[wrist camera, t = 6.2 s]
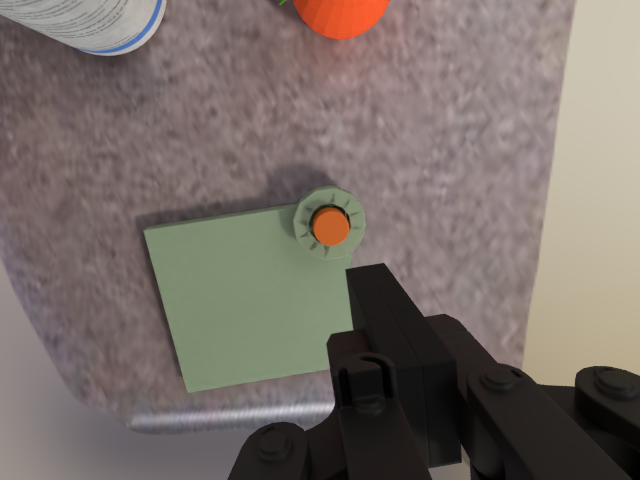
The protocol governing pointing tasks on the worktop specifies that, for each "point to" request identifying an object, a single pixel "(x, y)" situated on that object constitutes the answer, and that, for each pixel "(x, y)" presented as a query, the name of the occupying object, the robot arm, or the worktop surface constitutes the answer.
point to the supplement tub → (90, 22)
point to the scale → (255, 289)
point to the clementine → (340, 16)
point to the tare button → (330, 226)
